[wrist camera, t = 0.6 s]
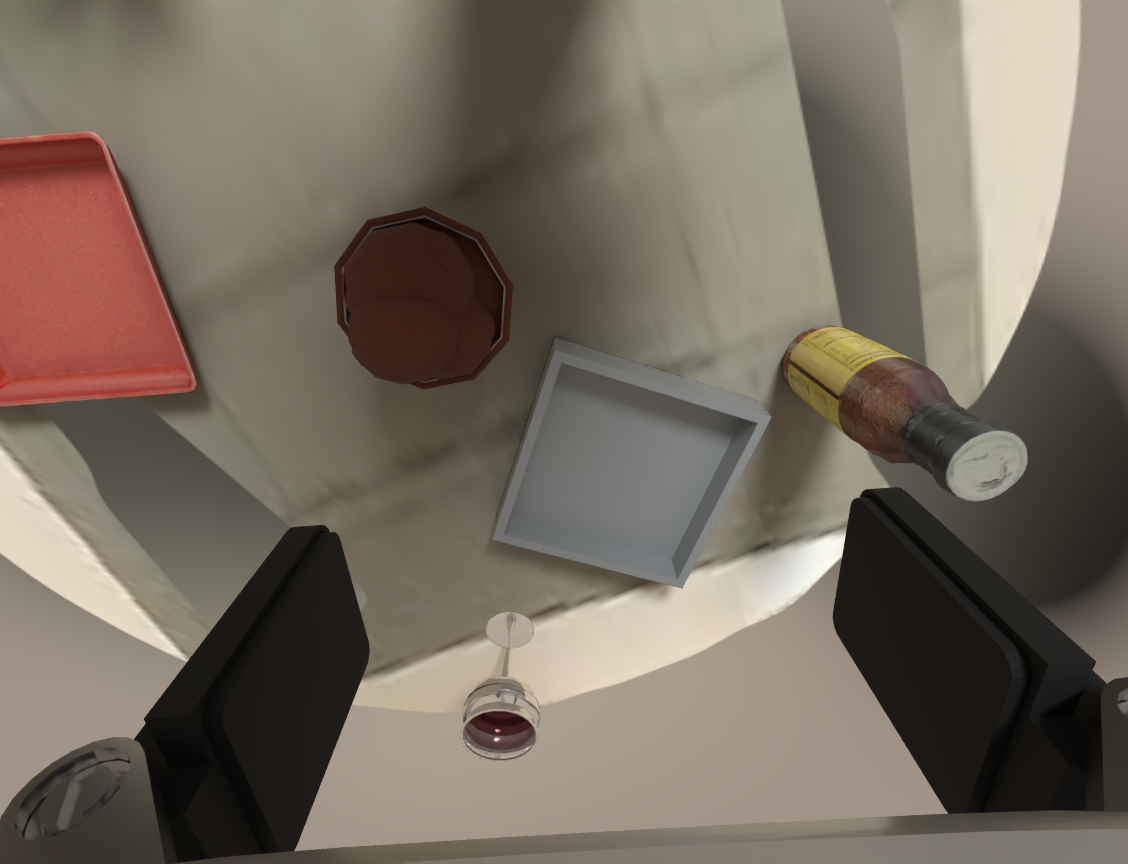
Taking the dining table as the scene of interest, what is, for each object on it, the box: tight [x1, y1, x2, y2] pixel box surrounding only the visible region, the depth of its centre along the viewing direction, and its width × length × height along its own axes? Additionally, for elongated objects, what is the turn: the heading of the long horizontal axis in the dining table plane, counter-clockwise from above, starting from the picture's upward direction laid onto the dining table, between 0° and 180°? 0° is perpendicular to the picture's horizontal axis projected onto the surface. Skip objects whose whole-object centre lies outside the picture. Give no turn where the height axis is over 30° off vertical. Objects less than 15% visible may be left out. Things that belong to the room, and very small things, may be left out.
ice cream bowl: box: [334, 207, 513, 389], centre depth 36 cm, size 11×11×15 cm
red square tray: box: [0, 132, 197, 406], centre depth 41 cm, size 18×18×3 cm
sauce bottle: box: [783, 326, 1027, 501], centre depth 37 cm, size 6×6×20 cm
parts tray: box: [492, 337, 772, 588], centre depth 48 cm, size 18×18×4 cm
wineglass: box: [460, 612, 540, 762], centre depth 53 cm, size 7×7×12 cm
